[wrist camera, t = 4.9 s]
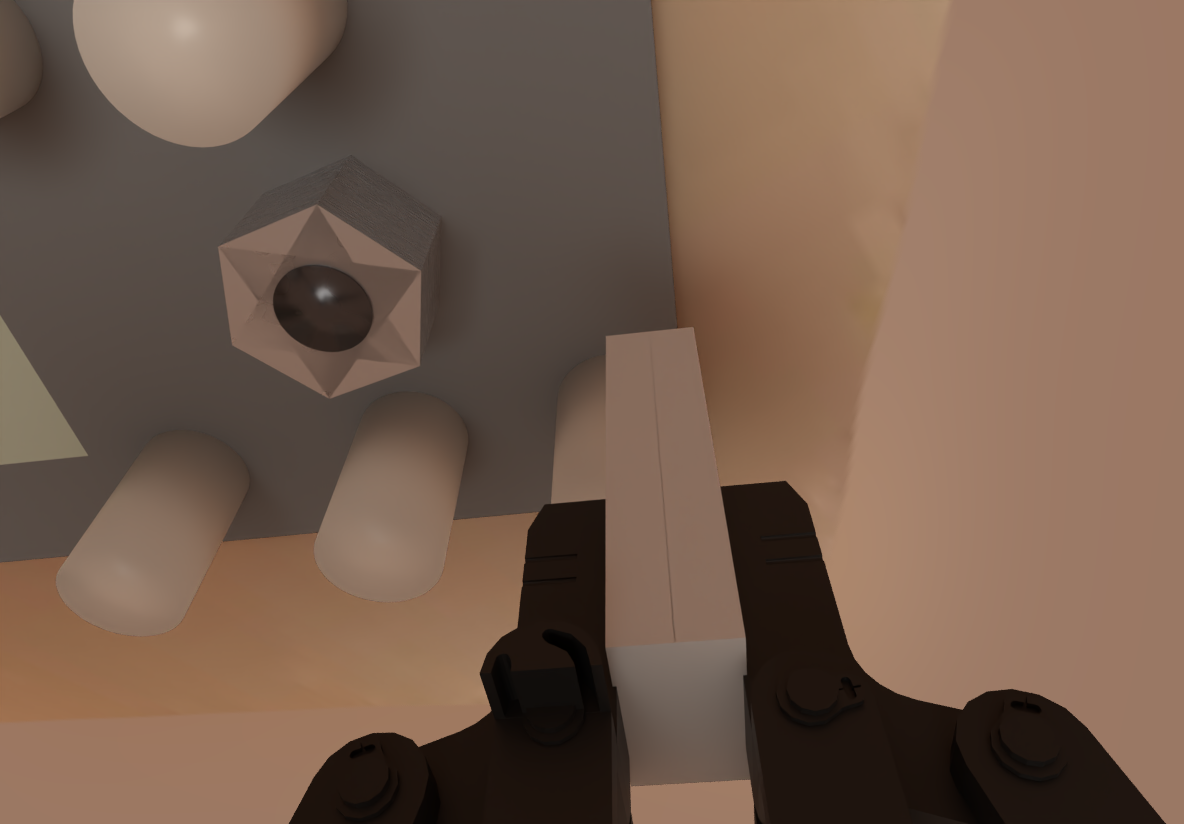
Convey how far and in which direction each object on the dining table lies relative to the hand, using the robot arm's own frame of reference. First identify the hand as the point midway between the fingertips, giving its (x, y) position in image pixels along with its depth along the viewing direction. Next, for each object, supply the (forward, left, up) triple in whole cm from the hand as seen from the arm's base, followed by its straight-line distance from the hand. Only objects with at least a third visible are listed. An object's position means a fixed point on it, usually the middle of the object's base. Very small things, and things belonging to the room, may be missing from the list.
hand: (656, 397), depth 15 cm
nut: (-7, 0, -7) cm, 10 cm away
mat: (-12, 0, -9) cm, 15 cm away
